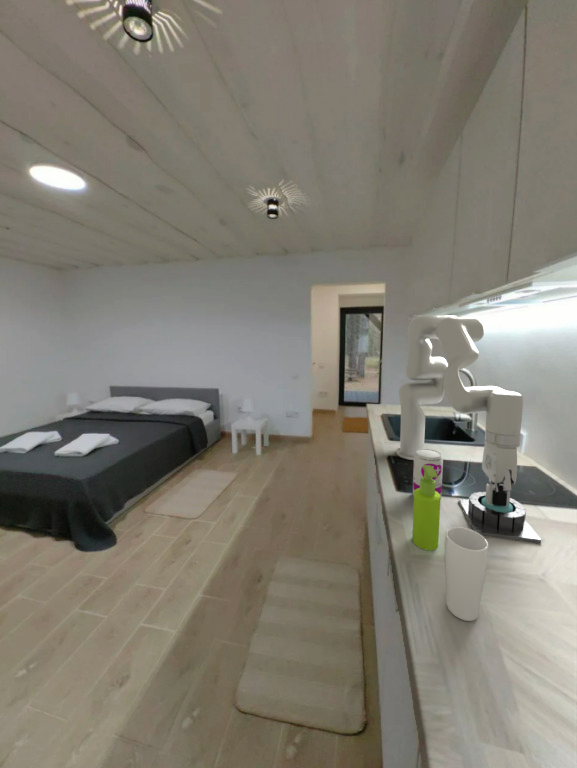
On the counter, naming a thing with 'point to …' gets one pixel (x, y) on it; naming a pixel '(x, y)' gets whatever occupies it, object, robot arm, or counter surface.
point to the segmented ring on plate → (498, 520)
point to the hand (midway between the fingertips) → (497, 502)
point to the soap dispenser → (426, 512)
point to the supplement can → (432, 460)
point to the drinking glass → (465, 571)
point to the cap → (488, 501)
